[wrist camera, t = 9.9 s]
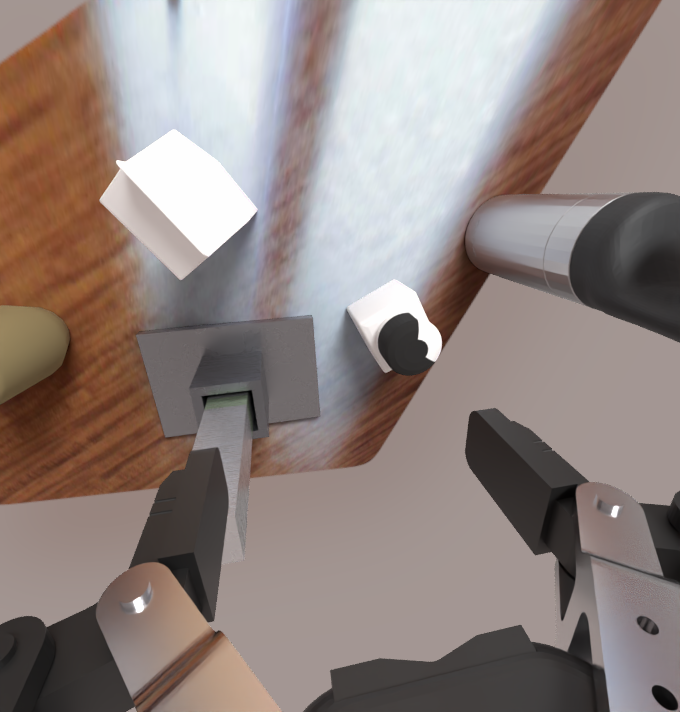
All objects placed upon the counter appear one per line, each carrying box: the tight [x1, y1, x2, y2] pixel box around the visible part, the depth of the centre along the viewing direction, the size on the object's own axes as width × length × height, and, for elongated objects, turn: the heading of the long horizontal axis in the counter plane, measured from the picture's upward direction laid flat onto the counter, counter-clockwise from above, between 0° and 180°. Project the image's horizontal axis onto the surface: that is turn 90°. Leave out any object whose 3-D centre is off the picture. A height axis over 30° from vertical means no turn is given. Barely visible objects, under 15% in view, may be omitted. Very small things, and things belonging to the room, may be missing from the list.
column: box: [192, 390, 254, 564], centre depth 32 cm, size 4×4×18 cm
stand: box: [136, 315, 320, 439], centre depth 42 cm, size 20×14×10 cm
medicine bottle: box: [347, 279, 442, 376], centre depth 41 cm, size 7×7×12 cm
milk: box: [100, 130, 258, 280], centre depth 29 cm, size 6×6×22 cm
